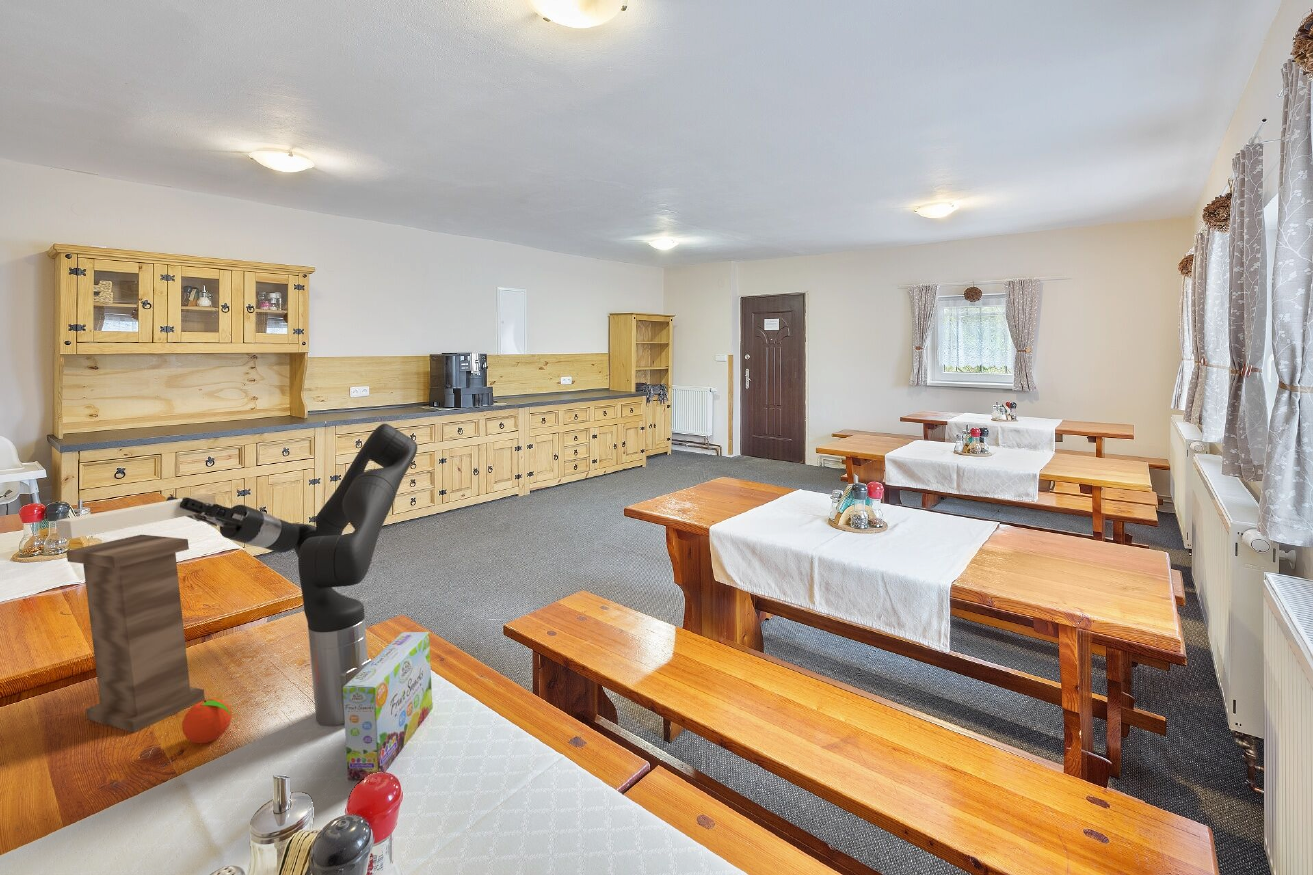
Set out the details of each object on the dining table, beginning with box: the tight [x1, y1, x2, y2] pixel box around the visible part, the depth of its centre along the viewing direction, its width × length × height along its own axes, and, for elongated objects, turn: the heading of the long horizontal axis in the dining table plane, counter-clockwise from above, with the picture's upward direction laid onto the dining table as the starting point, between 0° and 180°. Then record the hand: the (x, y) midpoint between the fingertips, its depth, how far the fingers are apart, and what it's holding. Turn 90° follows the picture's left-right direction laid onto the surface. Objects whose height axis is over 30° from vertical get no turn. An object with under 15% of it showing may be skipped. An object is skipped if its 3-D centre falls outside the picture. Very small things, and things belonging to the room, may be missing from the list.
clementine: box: [181, 698, 233, 744], centre depth 106 cm, size 8×7×7 cm
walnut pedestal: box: [65, 534, 206, 733], centre depth 116 cm, size 14×12×32 cm
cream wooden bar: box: [56, 493, 217, 540], centre depth 117 cm, size 4×24×3 cm, turn 159°
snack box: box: [343, 631, 434, 781], centre depth 104 cm, size 21×6×15 cm, turn 179°
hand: (175, 501), depth 122 cm, fingers closed on cream wooden bar, 4 cm apart
